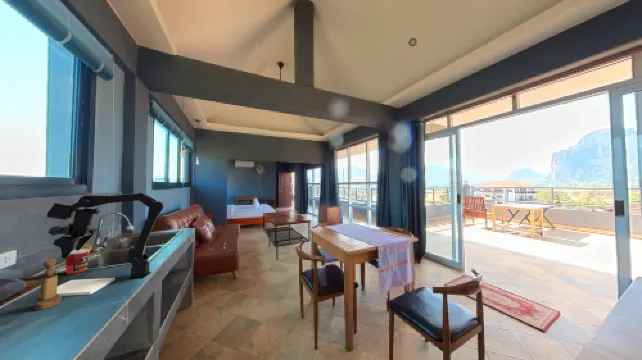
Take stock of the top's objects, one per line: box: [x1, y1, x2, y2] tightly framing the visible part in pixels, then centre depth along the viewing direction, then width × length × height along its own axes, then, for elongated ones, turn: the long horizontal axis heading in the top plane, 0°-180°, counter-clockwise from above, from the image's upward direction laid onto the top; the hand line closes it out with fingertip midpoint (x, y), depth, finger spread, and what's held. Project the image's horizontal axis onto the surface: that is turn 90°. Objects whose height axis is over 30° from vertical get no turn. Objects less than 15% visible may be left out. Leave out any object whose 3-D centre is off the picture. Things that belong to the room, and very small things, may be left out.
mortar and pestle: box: [33, 258, 63, 311], centre depth 81 cm, size 7×6×18 cm
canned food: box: [65, 248, 89, 275], centre depth 110 cm, size 8×8×11 cm
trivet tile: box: [38, 277, 116, 299], centre depth 94 cm, size 18×13×1 cm
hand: (71, 254), depth 95 cm, fingers open, 9 cm apart
